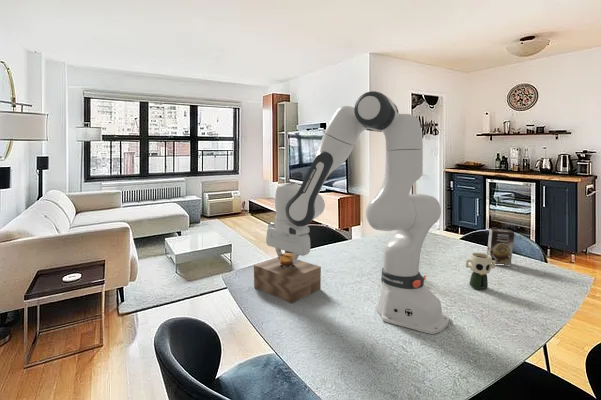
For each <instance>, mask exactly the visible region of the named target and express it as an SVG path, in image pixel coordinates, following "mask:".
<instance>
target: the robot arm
mask: <svg viewBox="0 0 601 400" xmlns="http://www.w3.org/2000/svg"><path fill="white" fill-rule="evenodd" d="M364 131H370V132H377V133H383V135H384V139H385V171H384V172H385V173H384V178H383V182H382V185H381V187H380V189H379V190H378V193H377V194H376V195H375V196H374V197H373V199H371V200H370V201H369V203H368V205H367V206H366V211H365V216H366V220H367V222H368V225H369V226H370V227H371V228H372V229H374V230H376V231H381V232H382V231H383V232H384V231H385V232H395V234H394V235H393V236H392V238H391V239H389V240H388V241H387V242H386V243H385V245H384V249H383V250H384V251H383V266H382V268H381V277H380V278H381V279H380V280H381V281H380V282H381V289H380V294H379V299H378V303H377V305H376V311H377V313H378V314H379V315H380V316H381V320H382V321H383V322H385V323H388V324H392V325H396V326H400V327H403V328H408V329H411V330H414V331H417V332H422V333H426V334H428V335H433V334H438V333H440V332H442V331H444V330H445V329H446V328H447V327H448V325H449V323H450V318H449V315H448V314H447V313H445V312H444V311H442V310H443V309H442V303H441V300H440V299H439V298H438V297H437V295H435V294H434V293H433V292H432V291H431V290H430V289H429V288H428V287H426V285H425V284H424V283H425V280H426V279H427V275H424V276H423V275H422V274H421V272H420V271H419V270H420V259H421V251H422V247H423V243H424V242H425V238H426V237H427V235H428V233H429V231H430V229H431V228H432V227H433V226H434V225H435V224H436V223H437V222H438V221H439V219H440V217H441V213H442V209H441V205H440V202H439V200H438V199H437V198H436V197H434V196H433V195H428V194H423V193H414V194H413V193H412V194H411V193H410V192H411V190H412V187H413V185H414V184H415V183H416V182H417V181H418V180H420V178H421V177H422V176H423V172H424V169H423V167H424V166H423V165H424V163H423V161H424V160H423V159H424V157H423V155H424V154H423V153H424V150H423V147H424V144H423V141H424V140H423V132H422V126H421V123H420V120H419V118H418V116H415V115H414V114H410V113H399V109H398V106H397V105H396V104H395V103H394V102H393V100H392V99H391V98H390V97H388V96H387V95H385V94H384V93H382V92H379V91H377V90H376V91H374V90H373V91H367V92H364V93H363V94H361V95H360V96H359V97H358V98H357V99H356V102H355V103H354V106H350V105H342V106H340V107H338V109H337V110H336V111H335V113H334V114H333V116H332V117H331V119H330V120H329V122H328V124H327V126H326V129H325V130H324V133H323V135H322V137H321V140H320V143H319V144H318V148H317V151H316V154H315V156H314V157H313V161H312V162H311V165H310V167H309V168H308V170H307V173H306V175H305V177H304V179H303V181H302V183H301V185H299V184H298V183H297V182H294V181H293V182H286V183H282V184H280V185H278V186H277V187H276V190H275V198H274V200H275V201H274V207H275V211H276V212H275V216H274V217H275V218H274V222H270V223H269V224H268V225H267V230H266V237H265V243H266V245H267V246H269V247H271V248H274V249H275V252H276V255H277V257H278V259H279V260H280V254H283V252H282V251H285V252H287V253H292V254H293V256H294V257H293V259H291V263H292V264H296V263H297V260H298V258H299V256H301V257H304V256H307V255H308V254H310V252H311V238H310V235H309V233H310V231H311V230H310V227H309V226H308V225H309V224H310V223H311V222H312V221H313V220H315V219H317V218H318V217H319V216H321V215H322V214H323V212H324V210H325V207H326V206H325V200H324V198H323V197H322V196H321V195H320V192H321V190H322V187H323V186H324V183H326V180H327V178H328V177H329V176H330V175H331V174H332V172H333V171H335V170H336V169H337V168H339V167H340V166H341V165H343V164H344V163H345V162H346V160H347V159H348V158H349V156H350V155H351V153H352V151H353V149H354V148H355V145H356V143H357V140H358V139H359V136H360V135H361V134H362V132H364Z"/></svg>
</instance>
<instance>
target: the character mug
mask: <svg viewBox="0 0 601 400" xmlns="http://www.w3.org/2000/svg"><path fill="white" fill-rule="evenodd" d="M491 263H493V265H491ZM495 263H496V262H495V260H492V257H491V256H490V255H488V254H487V253H482V252H472V253H470V259H466V260H465V268H469V269H470V271H472V272H471V275H470V279H469V286H470V287H471V288H473V289H477V290H481V289H483V290H487V289H489V288H488V286H489V285H488V284H489V282H488V281H489V280H488V276H487V275H488V274H489V273H490V272H491V270H492V269H495V268H496V265H495ZM482 287H483V288H482Z"/></svg>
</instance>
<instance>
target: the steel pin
mask: <svg viewBox="0 0 601 400" xmlns="http://www.w3.org/2000/svg"><path fill="white" fill-rule="evenodd" d="M293 257H294V256H293V253H292V252H285V253H283V252H282V254H280V264H281V265H283V268H286V269H288V268H291V267H292V265H293V264H292V263H291V259H293Z"/></svg>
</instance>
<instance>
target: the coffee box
mask: <svg viewBox="0 0 601 400" xmlns="http://www.w3.org/2000/svg"><path fill="white" fill-rule="evenodd" d="M488 232H489V233H488V240H487V241H488V242H487V250H486V251H487V252H486V254H488V255H490V256H491V257H492V260H495V262H496V263H495V264H504V265H512V260H513V259H512V256H513V250H514V249H513V248H514V239H515V232H514V231H513V230H511V229H505V228H492V227H491V228H489V231H488ZM492 264H493V263H492Z"/></svg>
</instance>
